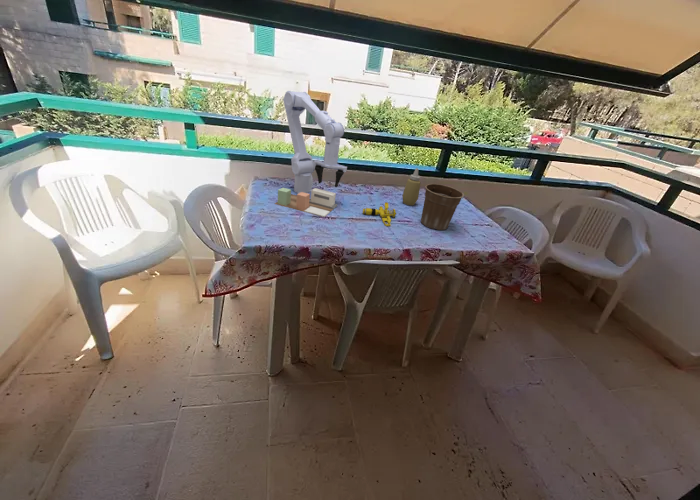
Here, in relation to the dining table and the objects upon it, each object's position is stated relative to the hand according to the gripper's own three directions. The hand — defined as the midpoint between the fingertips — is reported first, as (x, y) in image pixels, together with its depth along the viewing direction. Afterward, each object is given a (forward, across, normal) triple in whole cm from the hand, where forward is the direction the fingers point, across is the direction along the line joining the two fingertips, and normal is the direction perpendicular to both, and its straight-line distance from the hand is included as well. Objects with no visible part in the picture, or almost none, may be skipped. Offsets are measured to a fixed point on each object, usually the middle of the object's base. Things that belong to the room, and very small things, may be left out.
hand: (328, 184), depth 143 cm
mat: (+8, +1, -12) cm, 15 cm away
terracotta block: (+8, -6, -12) cm, 16 cm away
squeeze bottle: (+10, +34, +28) cm, 45 cm away
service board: (+10, -6, -8) cm, 14 cm away
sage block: (+8, -15, -12) cm, 21 cm away
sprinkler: (+10, +25, +2) cm, 27 cm away
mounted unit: (+10, -1, -3) cm, 10 cm away
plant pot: (+10, +49, +8) cm, 50 cm away
